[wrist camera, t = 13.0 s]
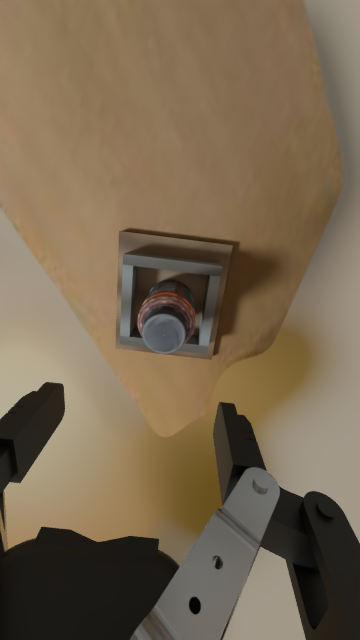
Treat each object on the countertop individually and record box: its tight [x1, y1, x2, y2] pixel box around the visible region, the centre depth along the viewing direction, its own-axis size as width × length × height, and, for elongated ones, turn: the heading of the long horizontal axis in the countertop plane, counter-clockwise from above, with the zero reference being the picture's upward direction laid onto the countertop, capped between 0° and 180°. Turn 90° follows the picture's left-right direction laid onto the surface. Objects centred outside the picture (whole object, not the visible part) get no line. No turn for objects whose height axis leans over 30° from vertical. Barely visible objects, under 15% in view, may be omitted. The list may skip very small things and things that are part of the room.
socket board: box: [116, 231, 233, 360], centre depth 31 cm, size 16×14×4 cm
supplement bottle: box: [137, 279, 195, 354], centre depth 27 cm, size 6×6×11 cm
